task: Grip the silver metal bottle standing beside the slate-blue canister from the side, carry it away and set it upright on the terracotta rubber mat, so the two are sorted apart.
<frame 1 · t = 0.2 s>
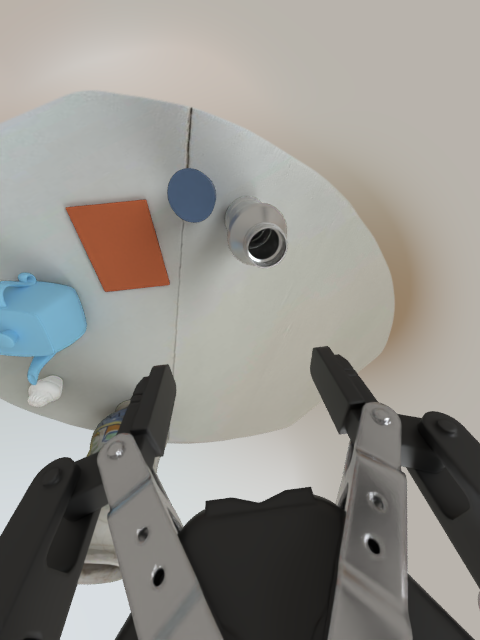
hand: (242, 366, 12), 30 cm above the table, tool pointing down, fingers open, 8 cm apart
terracotta mat: (124, 249, 36), on the table
silver metal bottle: (244, 217, 35), on the table
teapot: (56, 310, 41), on the table
blue canister: (197, 194, 33), on the table
muffin: (55, 379, 51), on the table
vase: (140, 411, 60), on the table
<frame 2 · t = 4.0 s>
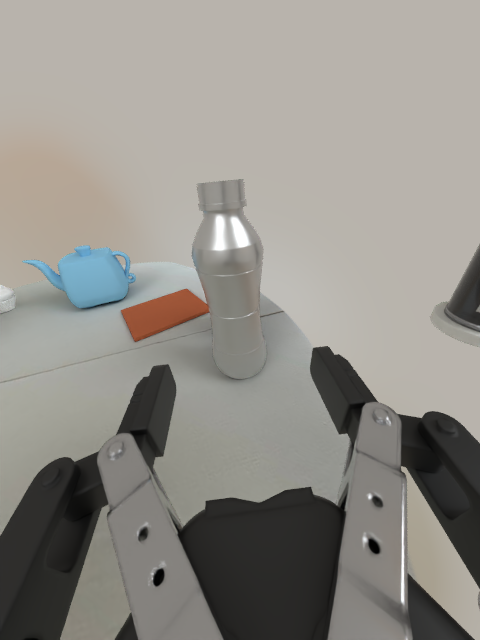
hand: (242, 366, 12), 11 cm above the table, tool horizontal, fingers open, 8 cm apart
terracotta mat: (165, 311, 41), on the table
silver metal bottle: (241, 367, 27), on the table
teapot: (99, 299, 48), on the table
muffin: (6, 310, 48), on the table
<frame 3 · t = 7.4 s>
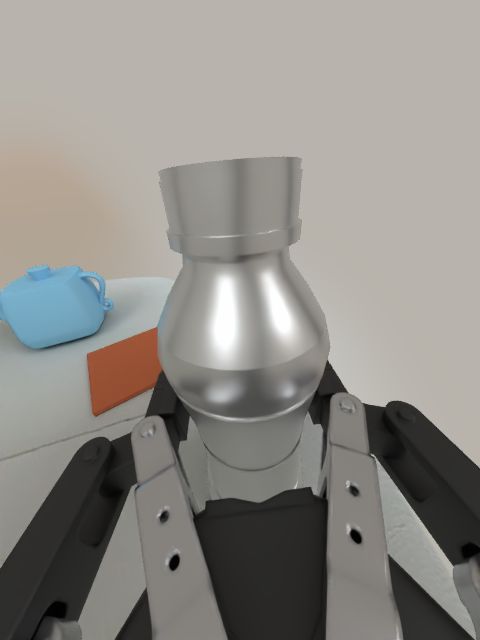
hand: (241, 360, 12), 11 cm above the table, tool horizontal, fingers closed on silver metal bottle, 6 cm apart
terracotta mat: (147, 357, 30), on the table
silver metal bottle: (255, 487, 16), on the table, touching gripper
teapot: (66, 332, 38), on the table
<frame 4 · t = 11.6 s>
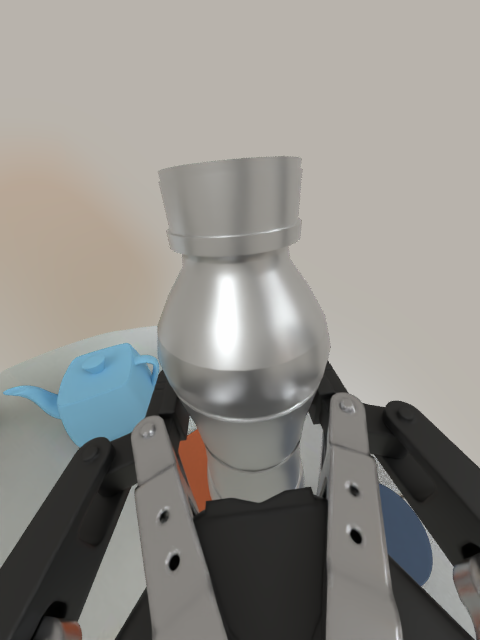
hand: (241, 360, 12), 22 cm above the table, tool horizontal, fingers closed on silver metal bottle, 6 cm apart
terracotta mat: (218, 467, 27), on the table
silver metal bottle: (255, 488, 16), point 10 cm above the table, touching gripper
teapot: (115, 414, 35), on the table
blue canister: (354, 553, 20), on the table
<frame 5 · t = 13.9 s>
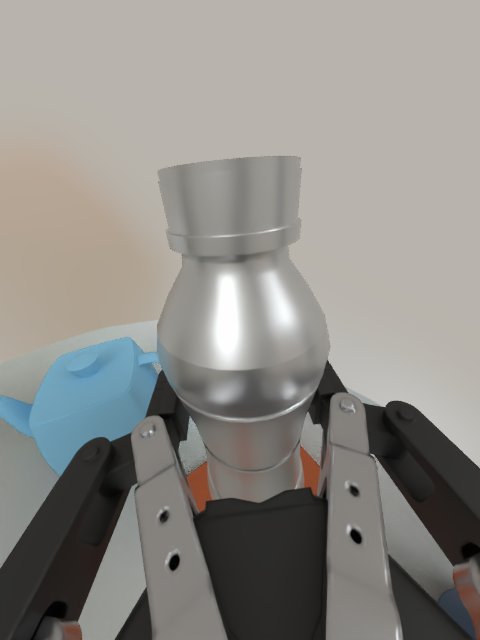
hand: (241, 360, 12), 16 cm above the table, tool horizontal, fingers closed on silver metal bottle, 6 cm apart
terracotta mat: (257, 507, 19), on the table
silver metal bottle: (255, 487, 16), point 5 cm above the table, touching gripper
teapot: (114, 428, 27), on the table
when the fingers open (12 cm above the table, at t = 15.9 s): silver metal bottle stays where it is, resting on terracotta mat.
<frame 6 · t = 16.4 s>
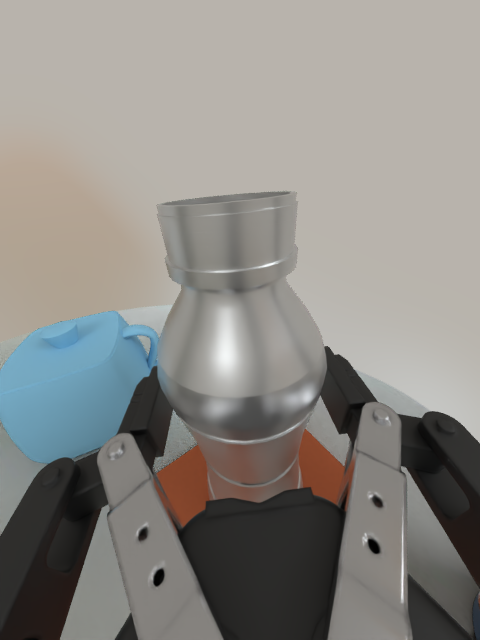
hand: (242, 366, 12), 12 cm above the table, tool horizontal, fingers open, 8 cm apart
terracotta mat: (255, 494, 17), on the table
silver metal bottle: (255, 494, 16), resting on terracotta mat
teapot: (97, 412, 25), on the table
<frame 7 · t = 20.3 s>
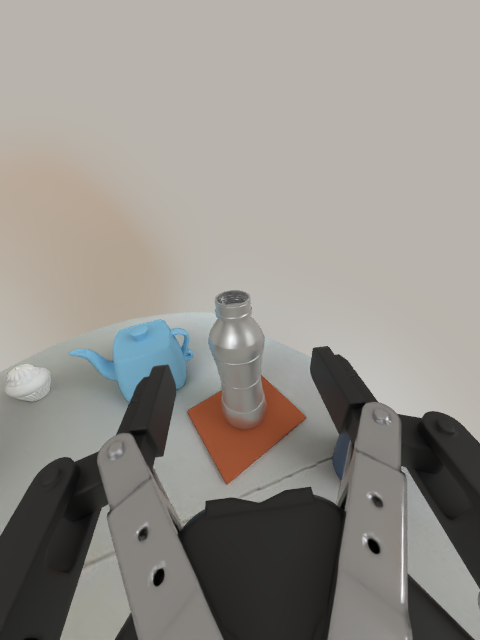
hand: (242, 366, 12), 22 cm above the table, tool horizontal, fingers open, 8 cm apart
terracotta mat: (244, 415, 33), on the table
silver metal bottle: (244, 415, 32), resting on terracotta mat
teapot: (151, 380, 41), on the table
blue canister: (357, 467, 26), on the table
muffin: (40, 395, 40), on the table
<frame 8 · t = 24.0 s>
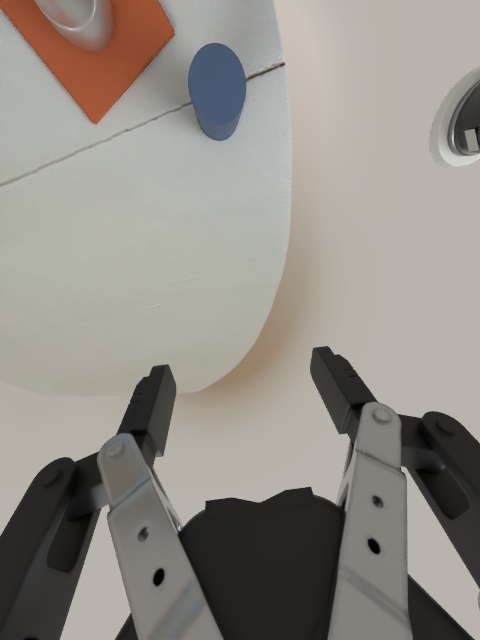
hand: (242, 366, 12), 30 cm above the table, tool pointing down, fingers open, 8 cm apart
terracotta mat: (88, 15, 23), on the table
silver metal bottle: (87, 15, 23), resting on terracotta mat
blue canister: (218, 113, 28), on the table
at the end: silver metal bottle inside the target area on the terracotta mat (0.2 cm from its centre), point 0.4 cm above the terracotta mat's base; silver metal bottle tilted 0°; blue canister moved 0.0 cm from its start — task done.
